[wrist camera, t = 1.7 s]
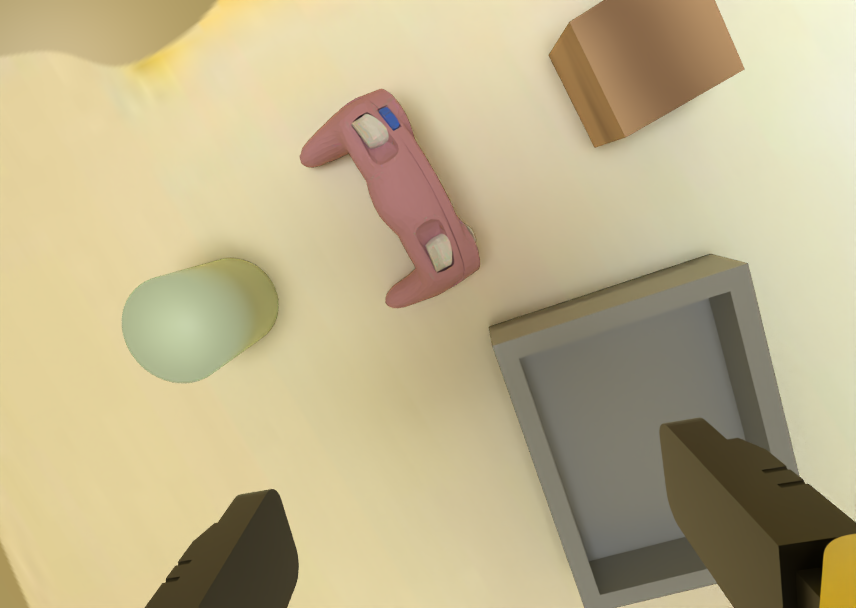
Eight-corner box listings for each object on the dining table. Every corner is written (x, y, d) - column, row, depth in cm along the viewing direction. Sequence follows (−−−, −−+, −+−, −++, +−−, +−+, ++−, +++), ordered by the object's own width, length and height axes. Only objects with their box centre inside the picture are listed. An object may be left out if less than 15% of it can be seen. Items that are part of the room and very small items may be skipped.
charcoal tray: (710, 253, 26) (748, 263, 22) (777, 515, 29) (819, 559, 25) (488, 326, 28) (492, 345, 24) (573, 567, 30) (586, 614, 27)
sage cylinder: (256, 245, 27) (200, 259, 22) (292, 328, 28) (247, 364, 23) (177, 275, 28) (102, 297, 22) (214, 355, 29) (152, 396, 23)
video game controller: (454, 274, 29) (514, 262, 22) (388, 316, 27) (431, 317, 21) (365, 116, 27) (400, 53, 20) (290, 153, 26) (302, 98, 19)
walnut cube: (644, -4, 24) (691, -55, 19) (688, 93, 24) (744, 69, 20) (548, 55, 24) (569, 22, 20) (594, 147, 25) (625, 137, 20)
